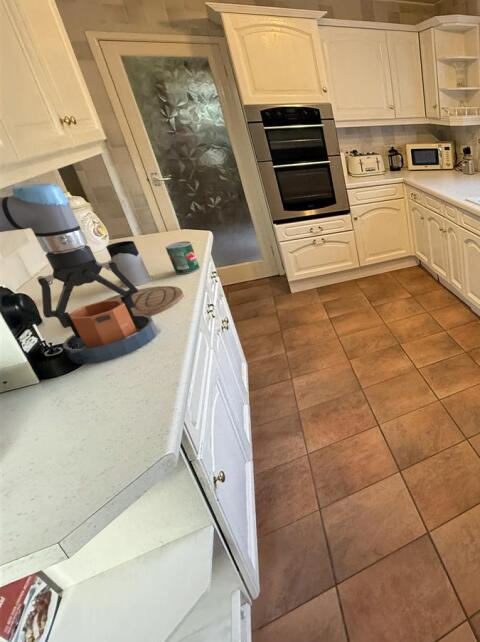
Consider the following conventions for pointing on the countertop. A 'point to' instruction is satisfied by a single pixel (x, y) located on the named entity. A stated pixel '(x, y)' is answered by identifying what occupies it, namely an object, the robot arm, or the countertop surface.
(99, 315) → the small pot
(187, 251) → the canned tomato
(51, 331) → the countertop surface
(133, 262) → the glass holder
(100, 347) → the blue ring
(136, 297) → the trivet
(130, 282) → the robot arm
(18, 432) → the countertop surface
